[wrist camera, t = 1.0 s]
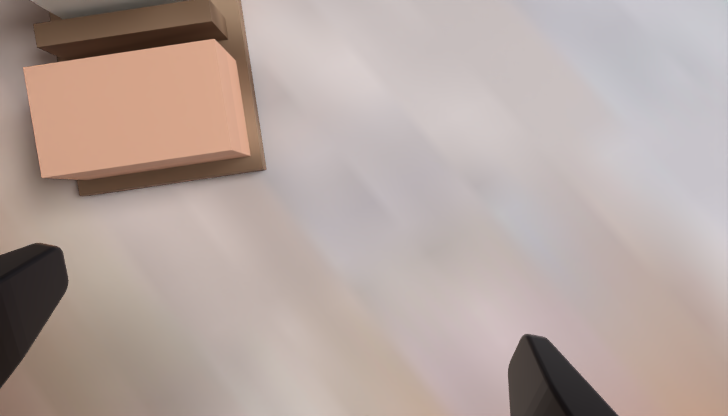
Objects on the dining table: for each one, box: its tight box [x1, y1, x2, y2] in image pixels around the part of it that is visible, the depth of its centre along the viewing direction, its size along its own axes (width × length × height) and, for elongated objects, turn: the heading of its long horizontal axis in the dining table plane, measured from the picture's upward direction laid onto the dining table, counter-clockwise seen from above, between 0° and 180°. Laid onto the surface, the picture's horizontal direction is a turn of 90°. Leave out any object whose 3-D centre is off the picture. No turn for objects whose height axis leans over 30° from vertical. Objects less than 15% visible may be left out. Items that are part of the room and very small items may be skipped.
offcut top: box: [23, 39, 242, 179], centre depth 20 cm, size 5×8×2 cm, turn 98°
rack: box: [33, 0, 266, 196], centre depth 22 cm, size 12×9×3 cm
